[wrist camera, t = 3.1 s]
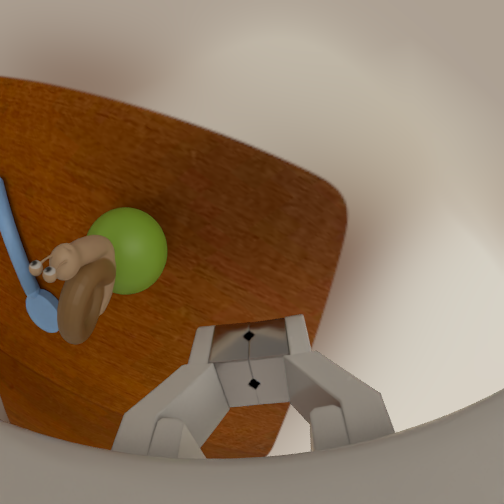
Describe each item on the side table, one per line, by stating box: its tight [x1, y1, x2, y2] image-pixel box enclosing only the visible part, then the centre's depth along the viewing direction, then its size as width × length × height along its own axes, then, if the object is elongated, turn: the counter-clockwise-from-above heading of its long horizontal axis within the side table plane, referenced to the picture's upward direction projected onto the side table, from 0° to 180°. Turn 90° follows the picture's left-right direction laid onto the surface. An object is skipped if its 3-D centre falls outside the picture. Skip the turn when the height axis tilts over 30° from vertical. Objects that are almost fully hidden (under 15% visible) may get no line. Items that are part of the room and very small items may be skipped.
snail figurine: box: [29, 207, 167, 344], centre depth 15 cm, size 5×6×12 cm
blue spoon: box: [0, 177, 59, 333], centre depth 20 cm, size 16×4×2 cm, turn 9°
